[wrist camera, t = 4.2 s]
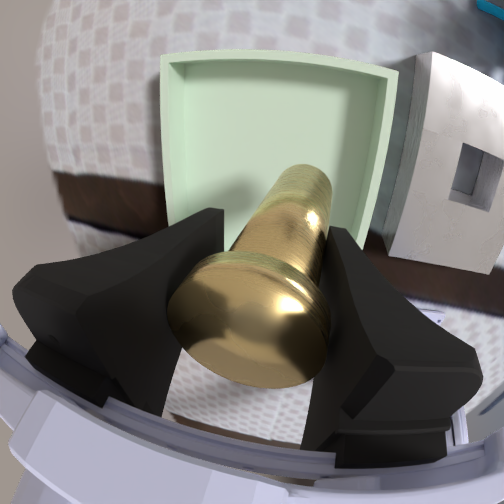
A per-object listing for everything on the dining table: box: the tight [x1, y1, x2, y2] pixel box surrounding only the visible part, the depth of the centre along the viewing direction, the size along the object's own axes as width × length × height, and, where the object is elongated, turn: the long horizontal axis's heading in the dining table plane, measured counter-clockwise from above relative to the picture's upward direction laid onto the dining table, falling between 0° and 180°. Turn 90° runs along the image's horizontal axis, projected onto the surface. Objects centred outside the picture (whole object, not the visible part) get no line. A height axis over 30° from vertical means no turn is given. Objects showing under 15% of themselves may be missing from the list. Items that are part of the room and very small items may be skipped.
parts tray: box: [160, 49, 399, 252], centre depth 18 cm, size 16×14×3 cm
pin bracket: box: [381, 51, 504, 274], centre depth 14 cm, size 14×10×3 cm
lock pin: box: [167, 164, 333, 389], centre depth 10 cm, size 4×4×10 cm
